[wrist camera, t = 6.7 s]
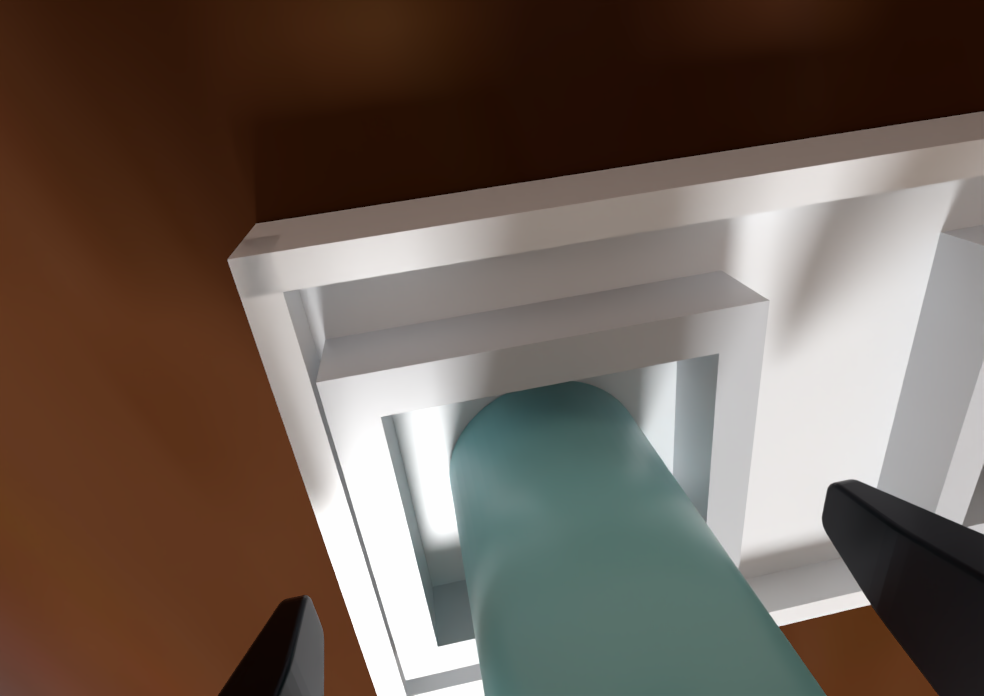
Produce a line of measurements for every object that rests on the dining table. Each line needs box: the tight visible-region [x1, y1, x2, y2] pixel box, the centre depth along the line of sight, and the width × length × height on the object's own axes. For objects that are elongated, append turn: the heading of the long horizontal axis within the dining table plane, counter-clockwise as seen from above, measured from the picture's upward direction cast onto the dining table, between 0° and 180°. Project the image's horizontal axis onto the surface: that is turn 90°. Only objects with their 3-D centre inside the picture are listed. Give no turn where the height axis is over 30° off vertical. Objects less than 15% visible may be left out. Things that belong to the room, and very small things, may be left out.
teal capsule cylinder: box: [449, 381, 826, 696], centre depth 9 cm, size 4×4×8 cm
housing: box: [227, 111, 984, 696], centre depth 12 cm, size 20×11×2 cm, turn 97°
